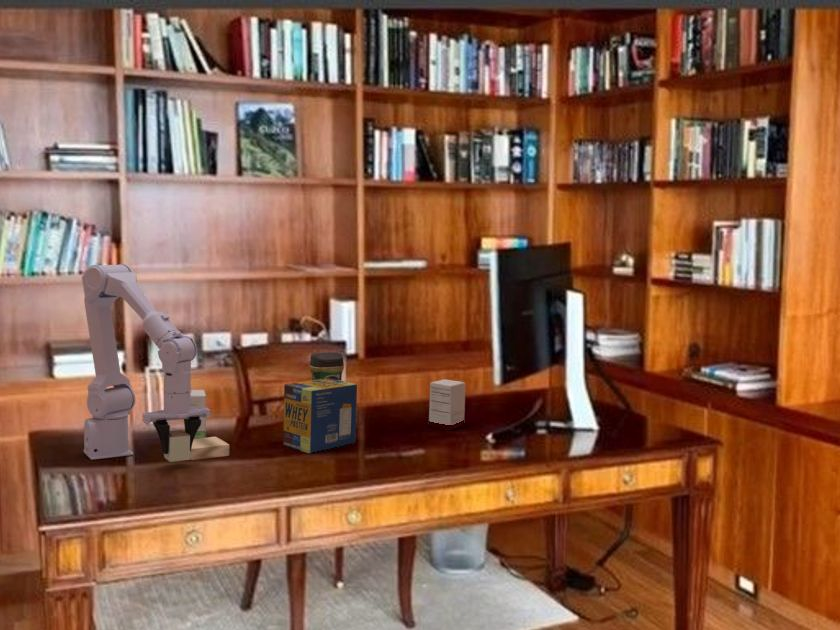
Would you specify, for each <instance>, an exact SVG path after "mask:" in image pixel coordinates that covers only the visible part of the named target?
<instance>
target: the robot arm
mask: <svg viewBox="0 0 840 630" xmlns="http://www.w3.org/2000/svg"><path fill="white" fill-rule="evenodd" d="M137 277H138V276H137V274H136V273H135V272H134V271H133V269H132V268H131V266H129V265H128V264H125V263H119V264H102V265H100V264H91V265H90V266H88V268H87V269H86V270H85V272H84V273H83V275H82V276H81V281H82V287H83V294H84V300H83V301H84V310H85V316H86V322H87V329H88V334H89V341H90V347H91V352H92V360H93V366H94V373H95V377H94V378H93V379H92V381H90V383H88V385H87V399H86V406H87V409H88V412H89V413H90V414H91V416H92V417H90V418H89V417H88V418H85V420H84V425H83V447H84V448H83V453H84V454H85V455H86V456H87V457H88V458H89V459H90V460H100V459H101V460H102V459H109V458H119V457H127V456H133V455H134V452H133V451H132V450H130V448H129V415H131V410H132V409H134V407H135V405H136V394H135V392H134V389H133V388H132V385H131V380H130V379H129V378H128V376H125V375H124V374H123V373H121V367H120V361H119V356H118V355H119V354H118V347H117V339H116V335H115V328H114V323H113V315H112V310H111V307H112V306H113V303H114V302H115V301H116V300H118V299H119V298H122V299H123V301H125V302H126V304H127V305H129V307H130V308H131V309H132V310H133V311H134V312H135V313H136V314H137V315H138V317H139V318H140V319H141V320H142V324H141V325H142V329H143V331H144V332H145V333H146V334H147V336H148V337H149V338H150V339H151V341H153V343H154V344H155V345H156V347H157V349H158V350H157V355H158V358H159V360H160V363H161V369H162V370H163V409H162V410H156V411H150V412H143V413H142V422H143V423H144V424H150V423H152V425H153V427H154V428H155V430H156V433H157V435H158V438H159V440H160V444H161V449H162V453H163V454H164V453H165V454H168V453H169V431H171V430H170V429H171V425H170V424H169V422H170V421H179V420H183V424H184V431H185V432H186V433H188V434H189V435H190V451H191V448H192V443H193V440H194V437H195V435H196V433H197V430H198V429H199V427H200V425H201V420H200V418H202V417H205V418H206V419H207V418H209V419H210V418H211V409H210V407H209V408H208V407H206V408H190V402H191V390H192V389H191V387H192V361H193V360H194V359H195V357H196V356H197V352H198V350H197V345H196V343H195V341H194V339H193V338H192V337H190V336H189V335H186V334H185V335H184V333H181V331H180V330H179V329H178V328H177V327H176V326H175V324H174V323H173V322H172V321H171V319H170V316H169V315H168V313H165V312H163V311H157V310H156V309H155V308H154V307H155V306H153V304H152V302H151V301H150V300H149V299H148V297H147V296H146V295H145V293H144V292H143V291H144V290H142V288H141V287H140V285H139V284H138V283H137V282H138V278H137ZM168 421H169V422H168Z"/></svg>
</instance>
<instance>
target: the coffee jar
mask: <svg viewBox="0 0 840 630" xmlns="http://www.w3.org/2000/svg"><path fill="white" fill-rule="evenodd" d="M309 359H310V360H309V370H310V373H311V381H313V380H320V379H326V378H332V379H337V380H341V381H342V374H343V372H344V370H345V369H344V368H345V363H344V356H343V354H342V353H340V352H333V351H332V352H318V353H317V352H315V353H311V355H310V358H309Z"/></svg>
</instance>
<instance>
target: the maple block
mask: <svg viewBox="0 0 840 630" xmlns="http://www.w3.org/2000/svg"><path fill="white" fill-rule="evenodd" d="M228 456H230V444H229V443H227V442H226V441H224V440H223V439H221V438H219V437H217V436H210V437H207V436H206V438H198V439H194V440H193V443H192V448H191V451H190V460H191V461H196V460H204V459H210V458H219V457H220V458H221V457H228Z"/></svg>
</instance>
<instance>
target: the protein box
mask: <svg viewBox="0 0 840 630" xmlns="http://www.w3.org/2000/svg"><path fill="white" fill-rule="evenodd" d="M283 387H284V390H283V391H284V393H283V446H285V447H288V448H291V449H294V450H298V451H300V452H303V453H307V454H309V453H310V454H313V452H315V453H318V452H317V451H320V452H322V451H321V450H324V451H326V450H325V449H329V450H331V449H330V448H334V447H338V448H340V447H339V446H343V445H346V444H350V443H353V442H355V443H356V439H357V436H356V435H357V433H356V432H357V405H358V404H357V401H358V400H357V398H358V384H357V383H353V382H349V381H345V380H344V381H343V380H342V379H341V380H337V379H332V378H326V379H320V380H313V381H312V380H308V381H307V380H306V381H299V382H294V383H286V384H284V385H283ZM343 447H344V446H343ZM334 449H335V448H334Z"/></svg>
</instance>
